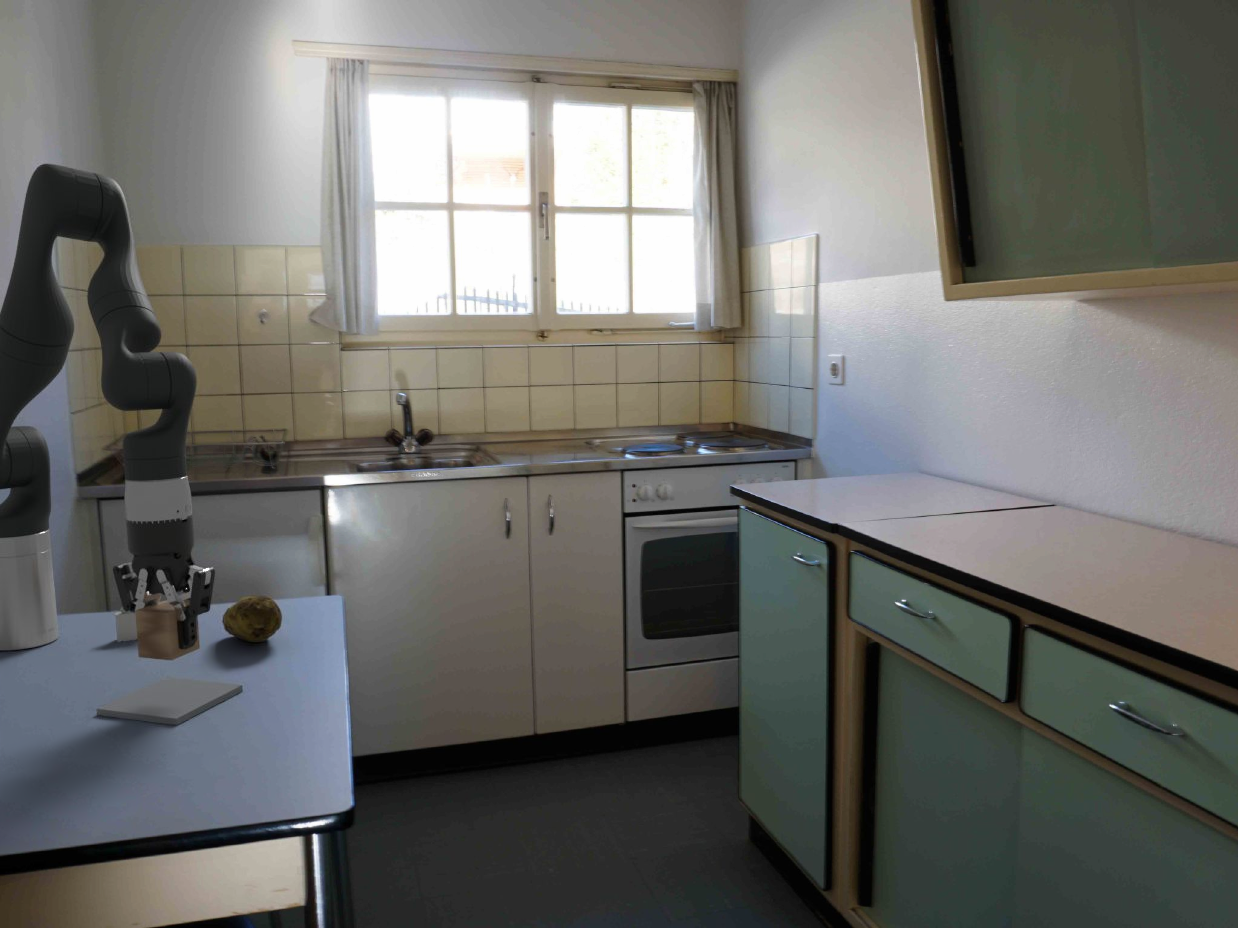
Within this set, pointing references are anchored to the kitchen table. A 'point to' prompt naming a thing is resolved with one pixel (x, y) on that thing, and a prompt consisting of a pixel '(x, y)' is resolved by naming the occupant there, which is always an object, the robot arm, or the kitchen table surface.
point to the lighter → (126, 625)
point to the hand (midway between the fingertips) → (169, 645)
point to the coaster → (170, 700)
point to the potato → (253, 618)
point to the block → (160, 632)
